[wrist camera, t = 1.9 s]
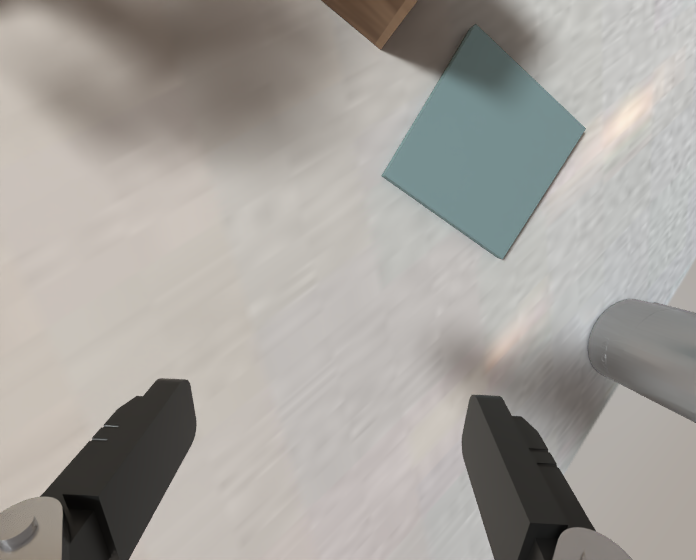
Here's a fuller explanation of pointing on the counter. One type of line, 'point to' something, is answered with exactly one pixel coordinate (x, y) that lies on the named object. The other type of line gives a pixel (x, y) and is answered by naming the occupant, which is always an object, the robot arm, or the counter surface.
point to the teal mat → (484, 145)
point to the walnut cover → (373, 16)
